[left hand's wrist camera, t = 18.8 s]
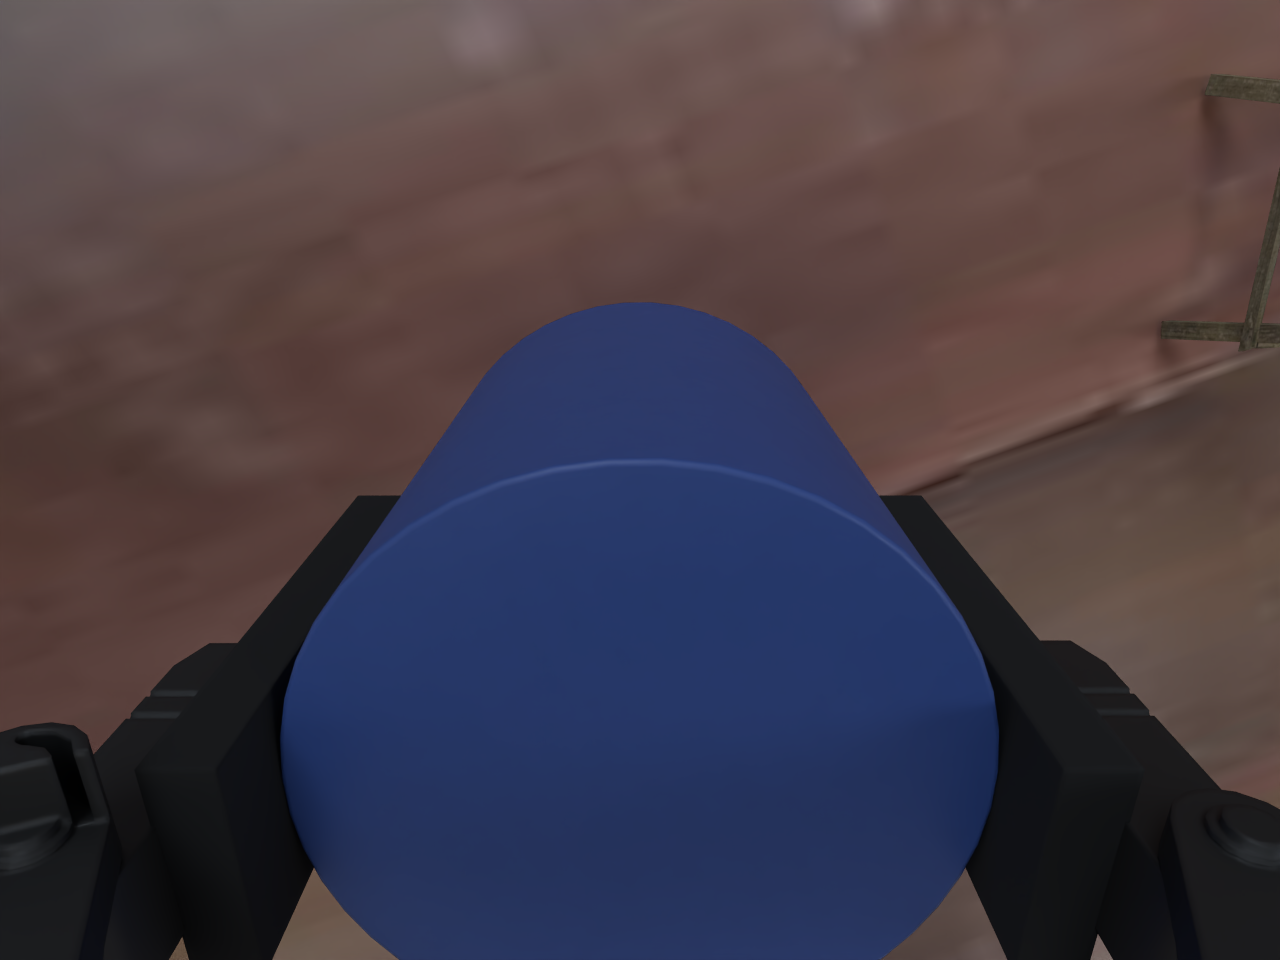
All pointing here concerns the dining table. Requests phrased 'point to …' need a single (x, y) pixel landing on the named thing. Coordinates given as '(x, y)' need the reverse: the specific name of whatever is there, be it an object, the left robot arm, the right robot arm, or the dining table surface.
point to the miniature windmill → (1275, 236)
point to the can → (639, 675)
